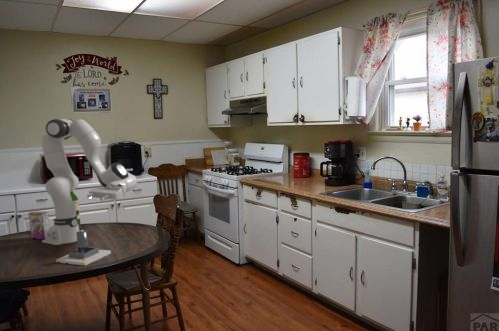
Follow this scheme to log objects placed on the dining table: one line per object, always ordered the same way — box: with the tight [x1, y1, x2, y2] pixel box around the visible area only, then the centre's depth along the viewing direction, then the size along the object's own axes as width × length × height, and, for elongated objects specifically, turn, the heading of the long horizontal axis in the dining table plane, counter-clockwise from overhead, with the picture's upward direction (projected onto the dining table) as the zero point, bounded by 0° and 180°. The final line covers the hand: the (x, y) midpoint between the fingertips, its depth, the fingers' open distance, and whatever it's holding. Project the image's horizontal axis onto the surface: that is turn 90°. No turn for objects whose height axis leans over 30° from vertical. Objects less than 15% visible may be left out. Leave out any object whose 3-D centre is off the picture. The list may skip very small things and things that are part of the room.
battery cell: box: [76, 229, 90, 253], centre depth 200 cm, size 5×5×13 cm
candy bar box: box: [27, 210, 51, 240], centre depth 242 cm, size 11×5×16 cm, turn 71°
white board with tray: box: [55, 246, 112, 266], centre depth 201 cm, size 18×18×4 cm
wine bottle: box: [70, 190, 82, 230], centre depth 260 cm, size 9×9×32 cm
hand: (94, 198), depth 211 cm, fingers open, 8 cm apart
